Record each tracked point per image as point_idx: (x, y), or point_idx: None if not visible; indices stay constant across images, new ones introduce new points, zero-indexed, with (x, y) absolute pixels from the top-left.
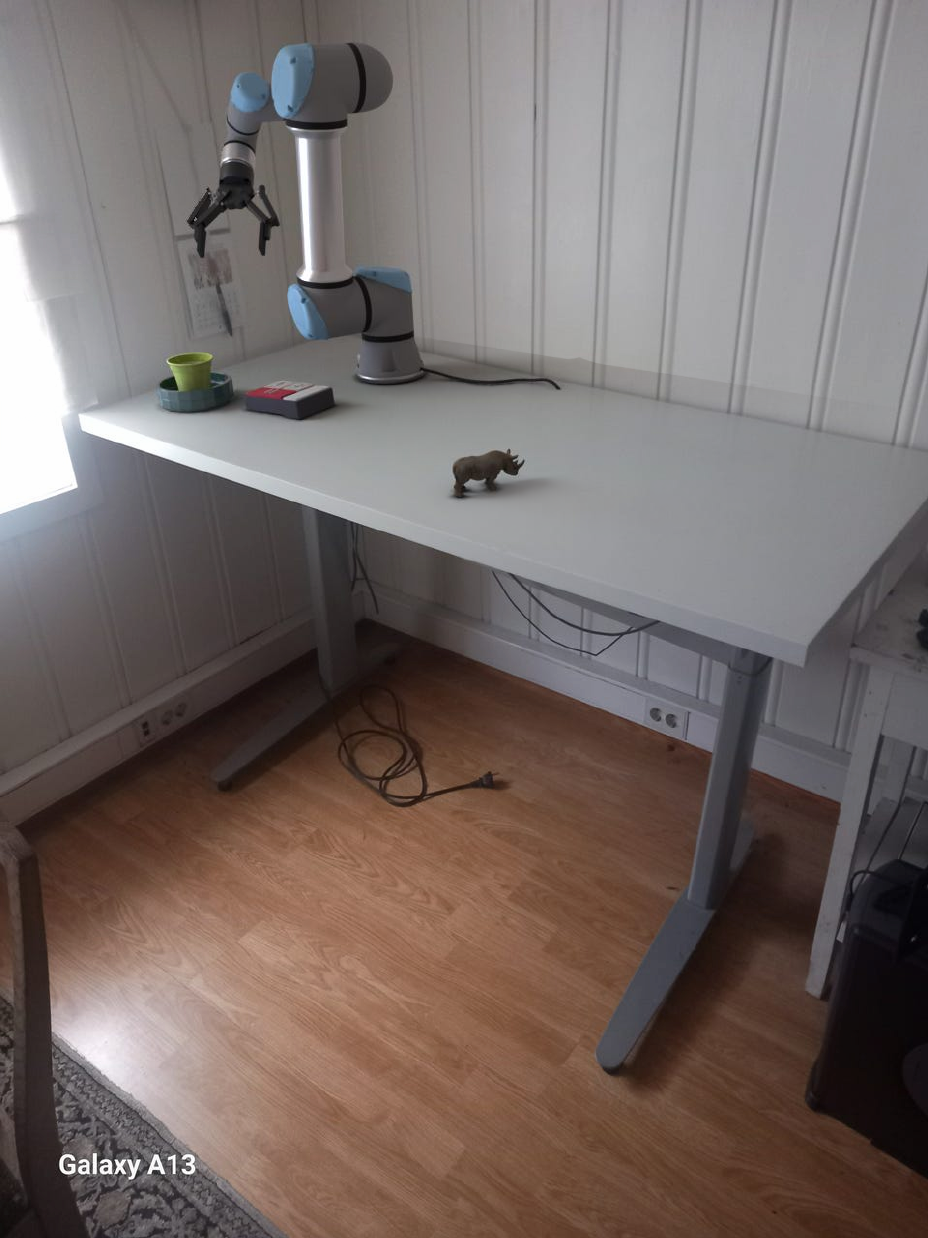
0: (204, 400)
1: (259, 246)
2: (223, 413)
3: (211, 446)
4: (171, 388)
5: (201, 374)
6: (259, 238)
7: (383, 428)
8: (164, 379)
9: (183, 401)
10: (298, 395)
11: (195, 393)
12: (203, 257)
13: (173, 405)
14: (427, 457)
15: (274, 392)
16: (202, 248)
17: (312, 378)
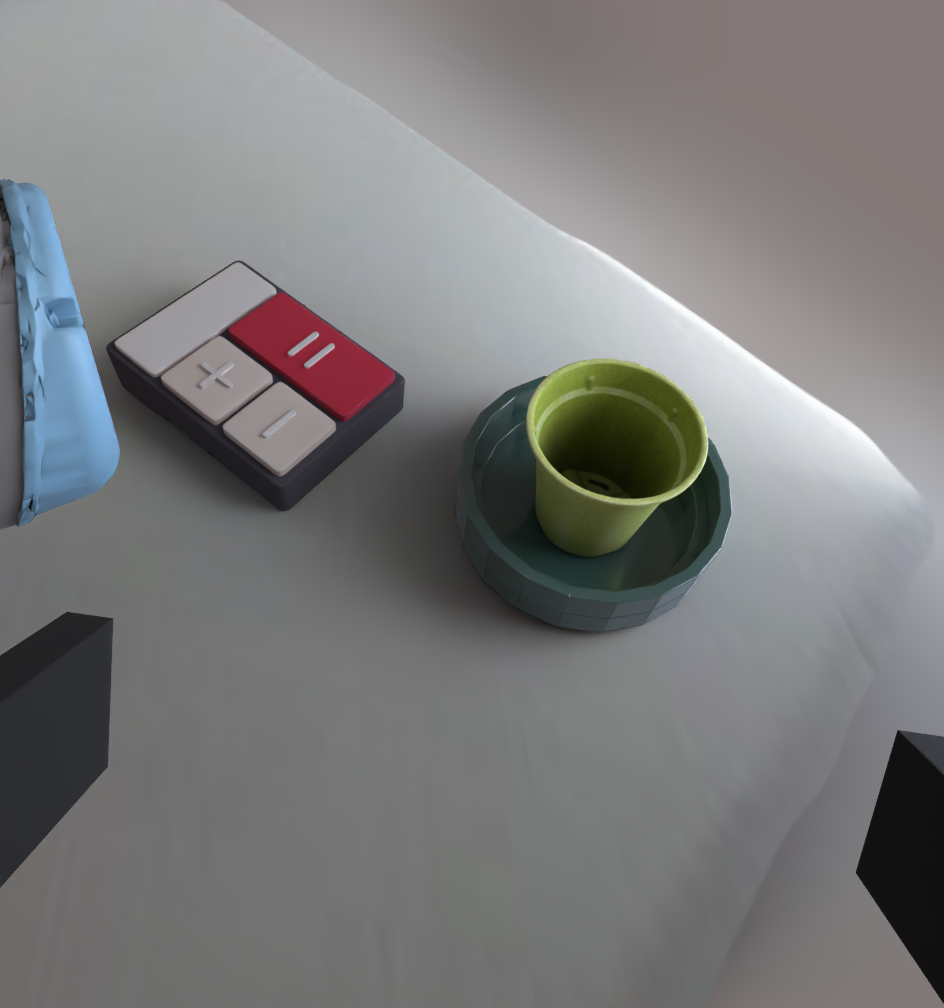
0: None
1: (89, 627)
2: (471, 395)
3: (463, 201)
4: (689, 542)
5: (558, 412)
6: (19, 682)
7: None
8: (719, 522)
9: None
10: (227, 290)
11: None
12: (861, 865)
13: None
14: (11, 73)
15: (301, 336)
16: (919, 851)
17: (137, 729)
